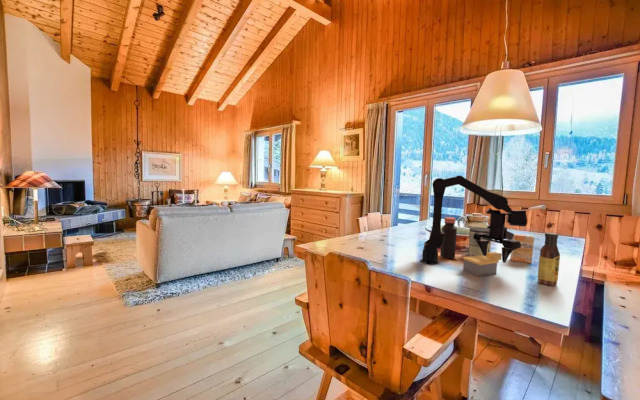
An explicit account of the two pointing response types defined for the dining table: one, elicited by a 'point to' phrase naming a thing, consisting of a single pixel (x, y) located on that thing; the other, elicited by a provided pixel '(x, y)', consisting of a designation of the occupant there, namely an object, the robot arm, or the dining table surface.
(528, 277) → the dining table surface
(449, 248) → the vinegar
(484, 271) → the tub
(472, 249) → the coffee can
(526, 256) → the supplement box
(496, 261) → the lid
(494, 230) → the robot arm
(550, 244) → the sauce bottle
